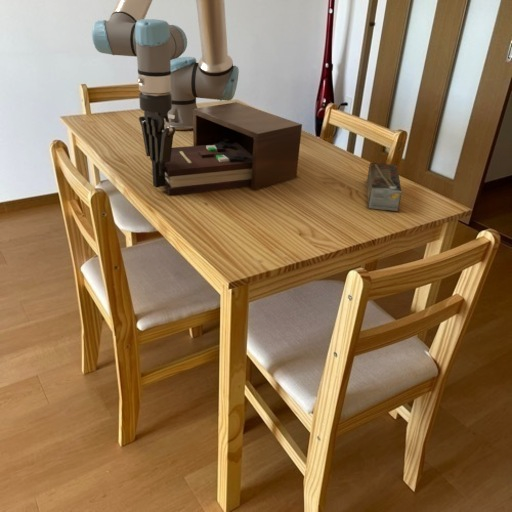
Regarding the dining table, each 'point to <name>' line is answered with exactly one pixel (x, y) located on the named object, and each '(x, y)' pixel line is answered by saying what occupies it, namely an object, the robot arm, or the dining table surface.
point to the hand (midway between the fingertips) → (159, 185)
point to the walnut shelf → (252, 139)
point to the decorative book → (208, 168)
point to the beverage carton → (383, 187)
